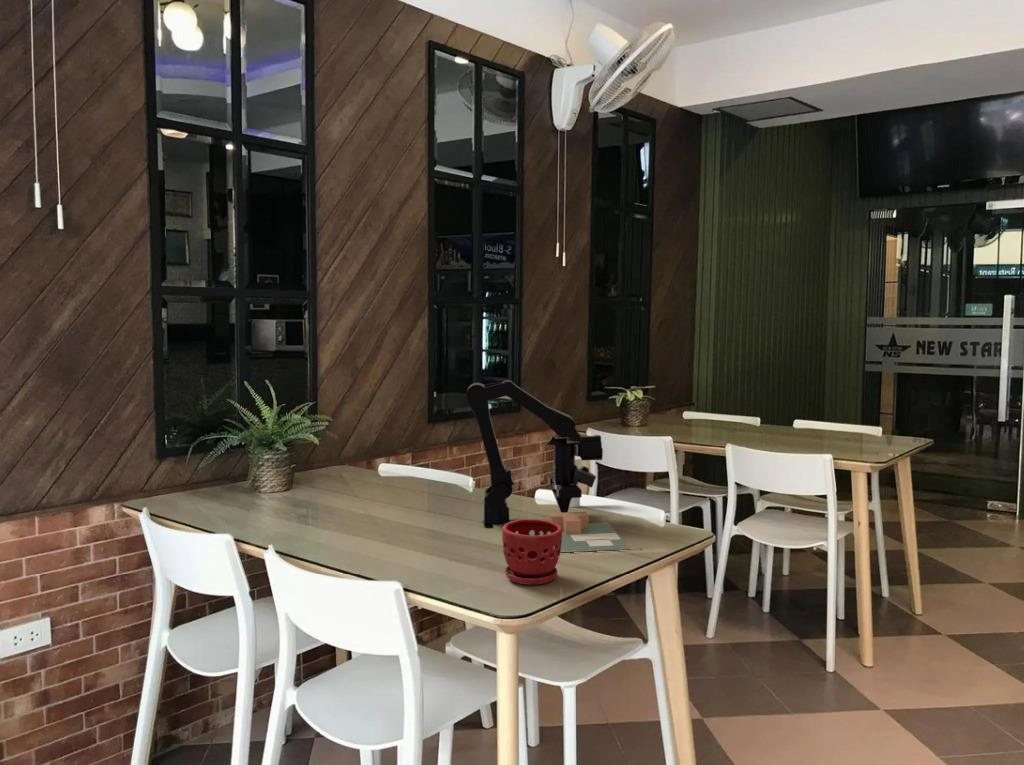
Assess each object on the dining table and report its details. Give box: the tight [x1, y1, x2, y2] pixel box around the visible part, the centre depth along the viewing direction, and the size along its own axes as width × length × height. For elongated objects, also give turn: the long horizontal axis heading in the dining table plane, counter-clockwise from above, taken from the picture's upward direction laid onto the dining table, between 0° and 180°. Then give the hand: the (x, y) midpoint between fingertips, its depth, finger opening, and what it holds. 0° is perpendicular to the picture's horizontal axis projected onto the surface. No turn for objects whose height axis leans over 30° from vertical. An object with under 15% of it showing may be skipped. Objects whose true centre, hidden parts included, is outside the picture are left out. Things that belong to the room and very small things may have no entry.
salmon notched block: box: [548, 511, 590, 534], centre depth 224 cm, size 10×9×4 cm
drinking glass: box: [569, 455, 583, 508], centre depth 251 cm, size 7×7×15 cm
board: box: [529, 522, 631, 554], centre depth 218 cm, size 23×24×1 cm
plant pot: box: [501, 518, 562, 586], centre depth 187 cm, size 13×13×12 cm
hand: (564, 516), depth 233 cm, fingers closed
